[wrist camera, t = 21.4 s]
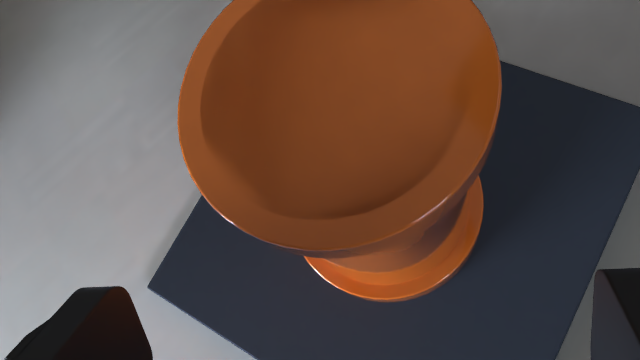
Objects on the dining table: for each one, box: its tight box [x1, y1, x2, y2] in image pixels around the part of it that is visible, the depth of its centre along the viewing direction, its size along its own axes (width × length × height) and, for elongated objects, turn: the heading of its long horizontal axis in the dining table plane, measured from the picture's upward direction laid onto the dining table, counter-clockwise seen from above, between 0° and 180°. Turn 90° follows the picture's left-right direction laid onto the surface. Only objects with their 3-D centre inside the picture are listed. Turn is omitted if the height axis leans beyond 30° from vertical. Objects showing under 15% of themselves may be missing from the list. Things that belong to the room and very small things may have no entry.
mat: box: [147, 61, 640, 360], centre depth 17 cm, size 12×12×1 cm
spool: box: [178, 0, 502, 302], centre depth 13 cm, size 6×6×8 cm
